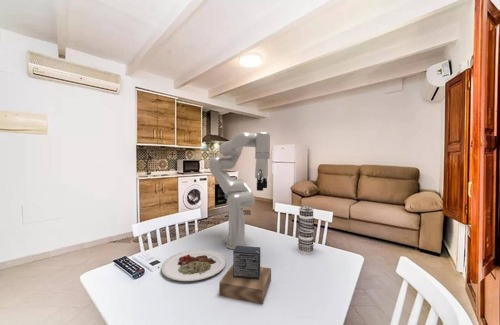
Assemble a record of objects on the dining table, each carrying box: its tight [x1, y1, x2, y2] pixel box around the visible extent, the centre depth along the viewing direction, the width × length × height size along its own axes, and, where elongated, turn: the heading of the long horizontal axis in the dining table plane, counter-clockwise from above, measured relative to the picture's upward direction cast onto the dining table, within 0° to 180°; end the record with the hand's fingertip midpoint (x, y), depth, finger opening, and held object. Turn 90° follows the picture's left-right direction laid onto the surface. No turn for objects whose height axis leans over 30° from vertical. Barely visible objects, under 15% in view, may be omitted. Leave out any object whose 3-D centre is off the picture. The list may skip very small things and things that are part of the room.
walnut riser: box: [218, 264, 272, 305], centre depth 87 cm, size 17×16×5 cm
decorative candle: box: [297, 205, 316, 255], centre depth 122 cm, size 9×9×25 cm
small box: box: [232, 245, 261, 279], centre depth 88 cm, size 11×6×10 cm, turn 82°
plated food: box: [160, 249, 227, 282], centre depth 104 cm, size 30×30×3 cm
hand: (262, 189), depth 112 cm, fingers open, 9 cm apart
